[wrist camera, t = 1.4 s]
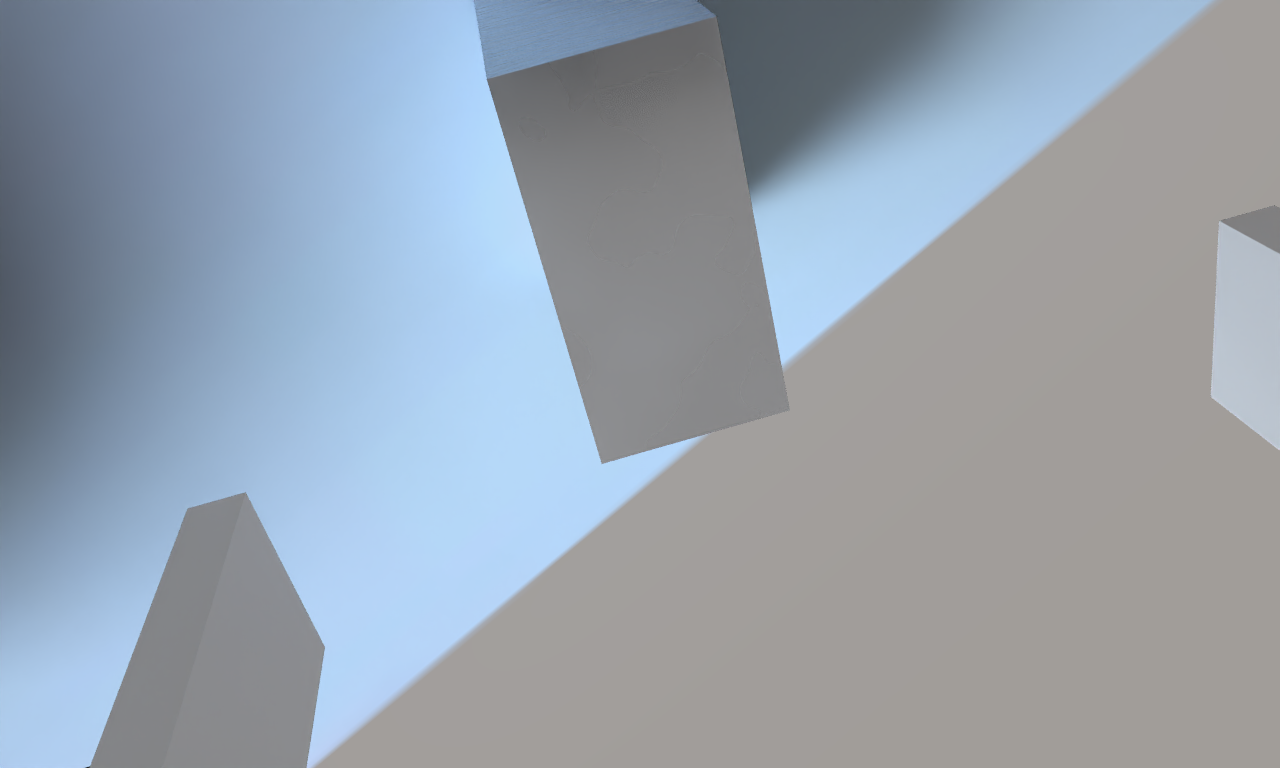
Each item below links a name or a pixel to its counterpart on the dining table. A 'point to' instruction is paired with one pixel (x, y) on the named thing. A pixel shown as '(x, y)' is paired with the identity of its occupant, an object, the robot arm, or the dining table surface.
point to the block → (638, 211)
